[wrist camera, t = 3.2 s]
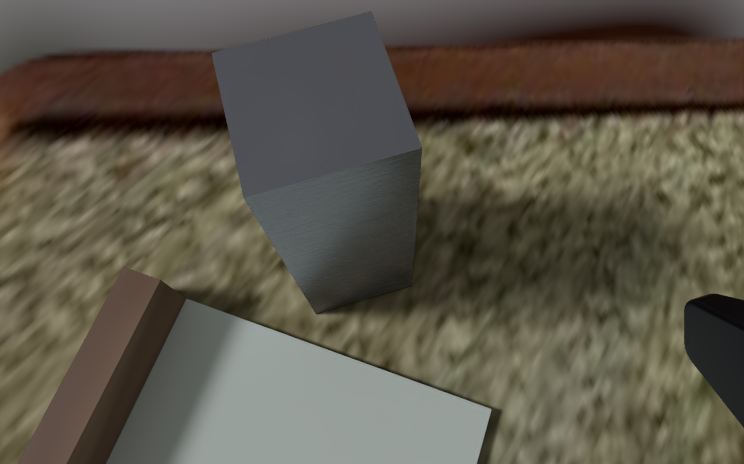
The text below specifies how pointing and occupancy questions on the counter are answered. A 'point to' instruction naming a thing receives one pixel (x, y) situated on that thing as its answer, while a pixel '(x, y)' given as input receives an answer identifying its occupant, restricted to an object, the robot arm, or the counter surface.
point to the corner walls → (106, 373)
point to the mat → (285, 404)
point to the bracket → (326, 157)
